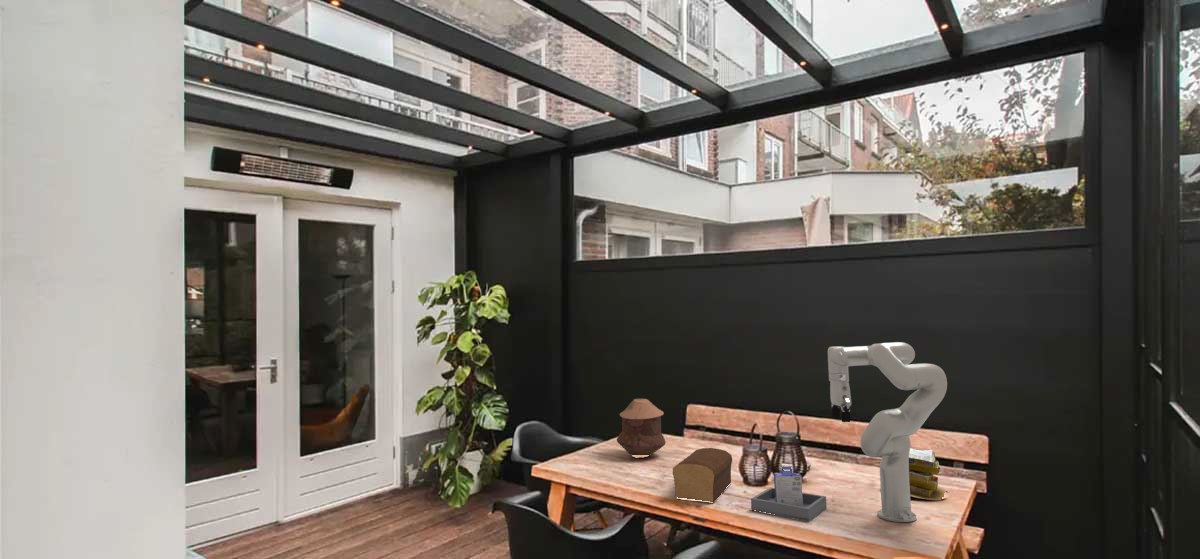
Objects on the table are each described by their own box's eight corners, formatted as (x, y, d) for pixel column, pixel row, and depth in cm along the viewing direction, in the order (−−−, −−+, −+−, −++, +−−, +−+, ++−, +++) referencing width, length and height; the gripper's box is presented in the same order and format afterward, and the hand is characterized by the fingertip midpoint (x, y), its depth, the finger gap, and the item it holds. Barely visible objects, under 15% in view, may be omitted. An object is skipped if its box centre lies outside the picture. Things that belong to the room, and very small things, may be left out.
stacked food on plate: (958, 490, 250) (955, 449, 251) (940, 505, 232) (937, 460, 233) (894, 480, 267) (892, 441, 268) (873, 493, 249) (870, 452, 250)
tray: (826, 508, 232) (825, 496, 233) (808, 521, 218) (808, 509, 219) (771, 498, 246) (770, 487, 246) (751, 510, 232) (750, 498, 232)
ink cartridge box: (801, 504, 235) (799, 465, 236) (804, 509, 229) (802, 469, 230) (774, 504, 236) (772, 466, 237) (776, 508, 230) (775, 469, 231)
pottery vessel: (642, 449, 342) (640, 394, 344) (676, 456, 323) (674, 398, 325) (607, 457, 326) (605, 399, 327) (641, 465, 306) (639, 404, 308)
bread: (672, 500, 249) (670, 459, 250) (694, 481, 276) (692, 444, 277) (716, 505, 241) (714, 463, 242) (734, 484, 268) (732, 447, 269)
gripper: (857, 379, 241) (859, 423, 240) (839, 374, 258) (841, 416, 257) (838, 379, 241) (840, 424, 240) (821, 375, 258) (823, 416, 257)
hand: (840, 419), depth 248 cm, fingers open, 9 cm apart
